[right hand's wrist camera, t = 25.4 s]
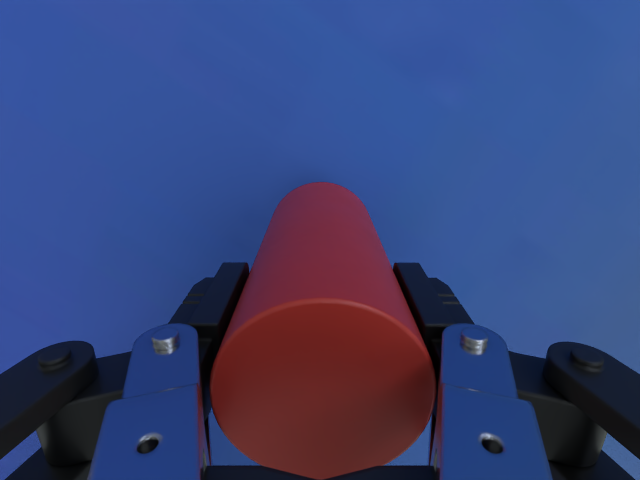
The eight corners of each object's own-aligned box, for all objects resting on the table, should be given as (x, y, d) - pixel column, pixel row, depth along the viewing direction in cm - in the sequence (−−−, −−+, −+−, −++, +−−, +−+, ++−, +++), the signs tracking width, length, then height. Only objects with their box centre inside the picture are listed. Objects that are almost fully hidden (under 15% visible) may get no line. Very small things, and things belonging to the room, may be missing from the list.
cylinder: (281, 282, 18) (237, 492, 8) (261, 190, 17) (179, 318, 7) (376, 268, 18) (442, 468, 8) (364, 174, 16) (431, 282, 7)
